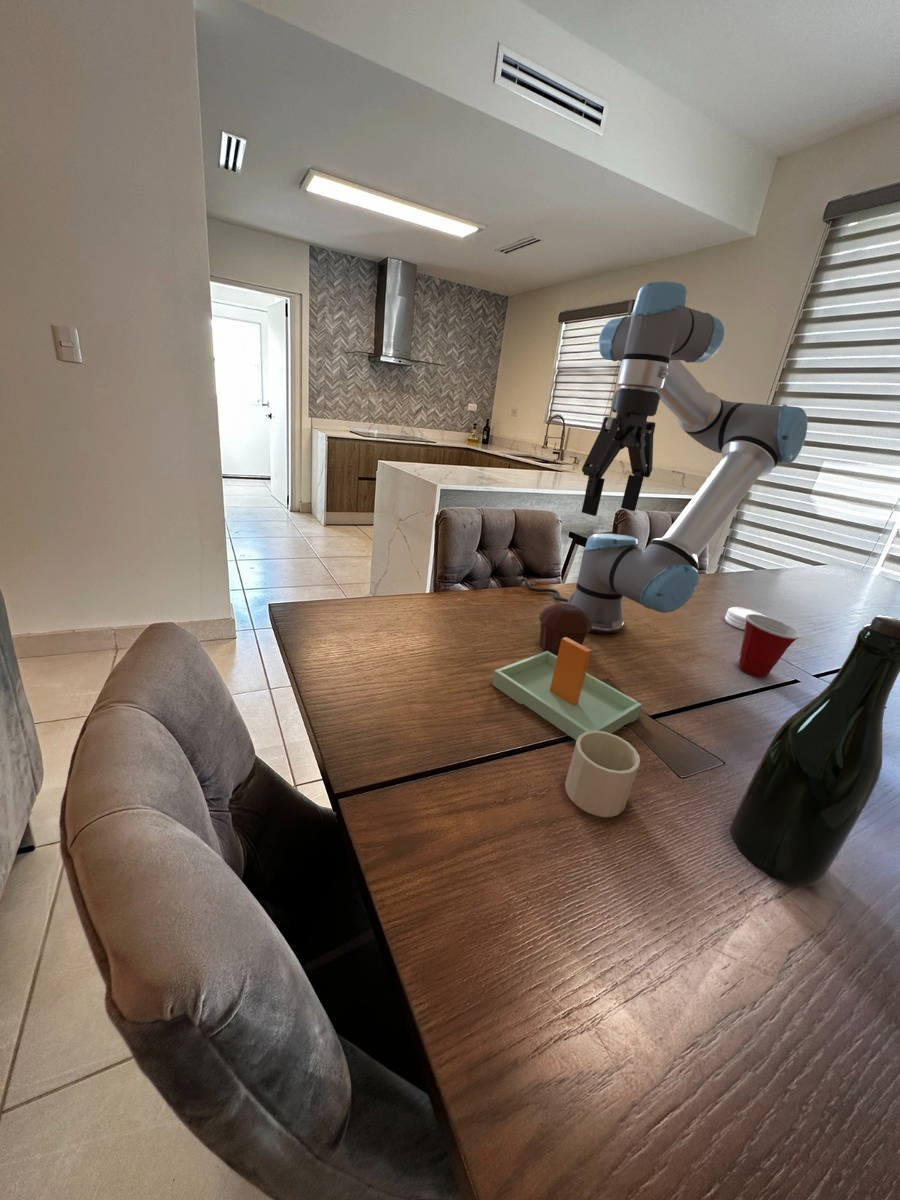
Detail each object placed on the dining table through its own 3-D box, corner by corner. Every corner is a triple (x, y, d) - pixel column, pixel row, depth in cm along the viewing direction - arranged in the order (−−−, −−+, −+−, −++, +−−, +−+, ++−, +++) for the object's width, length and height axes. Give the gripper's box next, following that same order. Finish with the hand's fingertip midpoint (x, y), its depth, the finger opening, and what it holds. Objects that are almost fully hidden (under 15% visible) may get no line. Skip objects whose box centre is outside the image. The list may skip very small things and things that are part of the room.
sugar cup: (552, 789, 66) (564, 744, 63) (586, 766, 71) (599, 723, 68) (602, 830, 60) (618, 782, 57) (635, 802, 65) (651, 757, 62)
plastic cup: (790, 688, 101) (813, 639, 97) (737, 677, 103) (757, 629, 98) (769, 664, 111) (789, 618, 106) (720, 654, 113) (738, 609, 108)
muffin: (589, 645, 109) (599, 606, 106) (580, 665, 100) (591, 623, 96) (540, 630, 114) (548, 592, 110) (527, 649, 104) (535, 608, 100)
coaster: (764, 625, 134) (768, 613, 133) (764, 636, 126) (768, 624, 125) (725, 614, 139) (729, 603, 137) (722, 624, 131) (727, 613, 129)
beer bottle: (841, 879, 58) (992, 642, 45) (782, 901, 54) (928, 649, 41) (764, 812, 67) (871, 598, 54) (709, 826, 63) (810, 601, 50)
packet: (549, 690, 88) (561, 638, 83) (554, 688, 88) (566, 636, 84) (573, 705, 84) (587, 652, 80) (578, 703, 85) (592, 650, 80)
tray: (491, 684, 89) (494, 670, 88) (544, 663, 99) (547, 650, 98) (586, 751, 74) (591, 734, 73) (637, 719, 84) (642, 704, 83)
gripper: (619, 383, 71) (588, 521, 79) (691, 397, 86) (659, 512, 95) (578, 380, 76) (553, 511, 84) (653, 395, 91) (625, 503, 100)
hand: (609, 511), depth 89 cm, fingers open, 13 cm apart
